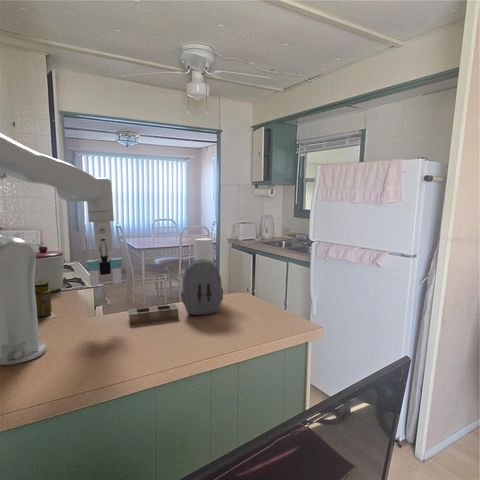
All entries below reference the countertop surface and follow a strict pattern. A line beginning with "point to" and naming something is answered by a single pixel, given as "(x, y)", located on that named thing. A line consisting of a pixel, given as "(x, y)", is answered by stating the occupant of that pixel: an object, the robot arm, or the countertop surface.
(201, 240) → the cylindrical container
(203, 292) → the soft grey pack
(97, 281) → the teal and white bridge
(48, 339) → the countertop surface
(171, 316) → the tan slotted block
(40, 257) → the canister
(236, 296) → the countertop surface
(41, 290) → the condiment
